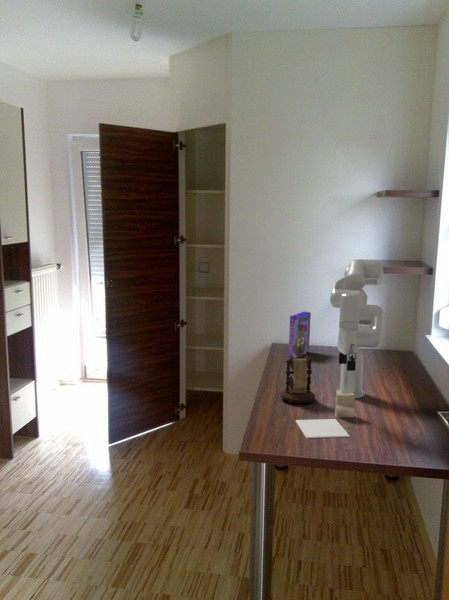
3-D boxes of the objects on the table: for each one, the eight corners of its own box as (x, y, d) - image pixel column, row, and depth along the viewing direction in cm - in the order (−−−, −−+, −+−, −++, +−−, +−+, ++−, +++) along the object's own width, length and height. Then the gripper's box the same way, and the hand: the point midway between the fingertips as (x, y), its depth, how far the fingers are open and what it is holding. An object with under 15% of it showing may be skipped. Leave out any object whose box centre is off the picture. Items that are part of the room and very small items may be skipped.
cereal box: (296, 358, 297) (297, 316, 293) (288, 357, 299) (290, 315, 296) (308, 352, 311) (310, 312, 307) (301, 350, 314) (303, 311, 310)
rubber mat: (295, 421, 205) (295, 420, 205) (335, 420, 207) (335, 418, 207) (306, 438, 189) (306, 437, 189) (349, 437, 191) (349, 435, 191)
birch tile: (334, 415, 212) (335, 393, 211) (351, 414, 213) (352, 393, 212) (336, 417, 210) (337, 395, 208) (353, 417, 211) (354, 395, 209)
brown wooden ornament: (285, 406, 221) (287, 360, 218) (276, 394, 235) (278, 351, 232) (319, 405, 223) (321, 359, 220) (308, 393, 238) (310, 350, 235)
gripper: (332, 320, 214) (330, 361, 216) (347, 329, 197) (344, 373, 199) (350, 320, 214) (348, 361, 217) (366, 329, 197) (363, 373, 200)
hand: (346, 367), depth 208 cm, fingers open, 9 cm apart
